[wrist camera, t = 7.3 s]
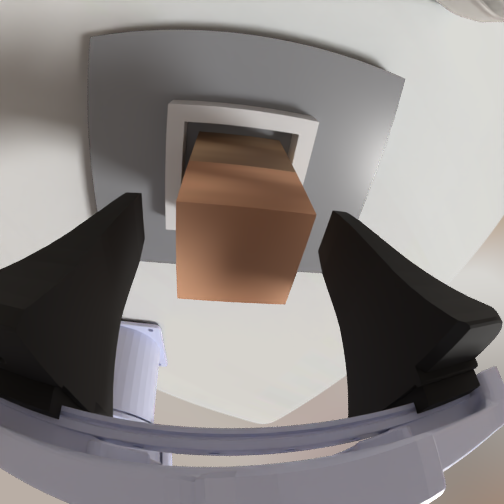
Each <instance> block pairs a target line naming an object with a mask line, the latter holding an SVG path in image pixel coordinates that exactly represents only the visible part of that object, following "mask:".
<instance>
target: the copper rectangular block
mask: <svg viewBox="0 0 504 504" xmlns="http://www.w3.org/2000/svg"><path fill="white" fill-rule="evenodd" d="M315 218H316V213H315V210H314V208H313V206H312V204H311V202H310V200H309V198H308V196H307V194H306V192H305V190H304V187H303V185H302V183H301V181H300V179H299V177H298V175H297V173H296V171H295V169H294V167H293V165H292V164H291V162H290V160H289V158H288V156H287V154H286V152H285V150H284V148H283V146H282V144H281V142H280V141H279V140H273V139H266V138H259V137H251V136H243V135H234V134H224V133H214V132H201V131H199V134H198V136H197V139H196V142H195V145H194V148H193V150H192V153H191V156H190V159H189V162H188V165H187V168H186V171H185V174H184V177H183V180H182V184H181V187H180V190H179V193H178V197H177V200H176V272H177V297H178V298H181V299H194V300H208V301H224V302H242V303H264V304H285V303H286V300H287V298H288V295H289V292H290V290H291V287H292V284H293V281H294V279H295V276H296V273H297V270H298V268H299V265H300V262H301V259H302V256H303V253H304V251H305V248H306V245H307V242H308V239H309V236H310V233H311V230H312V227H313V224H314V221H315Z"/></svg>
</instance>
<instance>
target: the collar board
mask: <svg viewBox="0 0 504 504" xmlns="http://www.w3.org/2000/svg"><path fill="white" fill-rule="evenodd" d="M404 82H405V79H404V78H402V77H400V76H398V75H395V74H393V73H391V72H388V71H386V70H383V69H381V68H378V67H375V66H373V65H370V64H367V63H365V62H362V61H359V60H356V59H353V58H350V57H347V56H344V55H341V54H337V53H334V52H331V51H327V50H323V49H320V48H316V47H312V46H308V45H304V44H299V43H295V42H290V41H285V40H280V39H275V38H269V37H263V36H256V35H249V34H241V33H232V32H221V31H207V30H148V31H134V32H123V33H114V34H107V35H100V36H94V37H90V49H89V64H88V129H89V145H90V157H91V168H92V177H93V185H94V192H95V199H96V206H97V212H98V211H100V210H101V209H103V208H104V207H105V206H107V205H108V204H109V203H111V202H112V201H114V200H115V199H116V198H118V197H119V196H121V195H123V194H124V193H126V192H130V193H142V207H143V221H144V233H145V240H144V245H143V250H142V254H141V258H140V261H146V262H158V263H171V264H176V200H177V197H178V193H179V190H180V187H181V184H182V180H183V177H184V174H185V171H186V168H187V165H188V162H189V159H190V156H191V153H192V150H193V148H194V145H195V142H196V139H197V136H198V134H199V131H201V132H214V133H224V134H234V135H243V136H251V137H259V138H266V139H273V140H279V141H280V142H281V144H282V146H283V148H284V150H285V152H286V154H287V156H288V158H289V160H290V162H291V164H292V165H293V167H294V169H295V171H296V173H297V175H298V177H299V179H300V181H301V183H302V185H303V187H304V190H305V192H306V194H307V196H308V198H309V200H310V202H311V204H312V206H313V208H314V210H315V213H316V218H315V221H314V224H313V227H312V230H311V233H310V236H309V239H308V242H307V245H306V248H305V251H304V253H303V256H302V259H301V262H300V265H299V268H298V270H297V272H310V273H322V270H321V265H320V260H319V254H318V250H319V247H320V244H321V241H322V239H323V236H324V233H325V230H326V228H327V225H328V222H329V219H330V216H331V214H332V211H333V210H335V211H342V212H347V213H349V214H350V215H352V216H354V217H355V218H356V219H358V218H359V216H360V213H361V211H362V208H363V206H364V203H365V201H366V198H367V196H368V193H369V190H370V188H371V185H372V182H373V180H374V177H375V174H376V171H377V169H378V166H379V163H380V160H381V157H382V154H383V151H384V148H385V145H386V142H387V139H388V136H389V133H390V130H391V127H392V124H393V120H394V117H395V114H396V111H397V107H398V104H399V100H400V97H401V93H402V89H403V86H404Z"/></svg>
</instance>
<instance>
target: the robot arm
mask: <svg viewBox="0 0 504 504" xmlns="http://www.w3.org/2000/svg"><path fill="white" fill-rule="evenodd" d="M144 240H145V233H144V221H143V207H142V193H130V192H126V193H124V194H123V195H121V196H119V197H118V198H116V199H115V200H114V201H112V202H111V203H109V204H108V205H107V206H105V207H104V208H103V209H101V210H100V211H98V212H97V213H96V214H94V215H93V216H92V217H90V218H89V219H87V220H86V221H85V222H83V223H82V224H80V225H79V226H77V227H76V228H75V229H73V230H72V231H70V232H69V233H67V234H66V235H64V236H63V237H61V238H59V239H58V240H56V241H54V242H53V243H51V244H50V245H48V246H46V247H44V248H42V249H41V250H39V251H37V252H35V253H33V254H31V255H29V256H28V257H26V258H24V259H22V260H20V261H18V262H16V263H14V264H12V265H9V266H7V267H5V268H3V269H0V468H2V469H3V470H4V471H6V472H8V473H9V474H11V475H13V476H14V477H16V478H18V479H20V480H21V481H23V482H25V483H27V484H29V485H31V486H32V487H34V488H36V489H39V490H40V491H43V492H44V493H47V494H49V495H51V496H53V497H55V498H58V499H60V500H62V501H64V502H67V503H69V504H428V503H430V502H431V501H433V500H435V499H436V498H438V497H439V496H440V495H442V493H443V492H444V490H445V489H446V483H445V478H444V473H443V472H444V471H445V470H447V469H448V468H450V467H451V466H452V465H454V464H455V463H457V462H458V461H460V460H461V459H462V458H464V457H465V456H466V455H468V454H469V453H470V452H471V451H473V450H474V449H475V448H476V447H478V446H479V445H480V444H481V443H483V442H484V441H485V440H486V439H487V438H489V437H490V436H491V435H492V434H493V433H494V432H496V431H497V430H498V429H499V428H500V427H502V426H503V425H504V383H503V381H502V378H501V376H500V374H499V371H498V369H497V367H496V366H493V367H491V368H489V369H486V370H484V371H482V372H480V373H479V374H477V375H476V374H475V371H474V369H475V368H476V367H477V366H478V364H477V361H476V359H475V358H476V357H477V356H478V355H479V354H480V353H481V352H482V351H483V350H484V349H485V348H486V347H487V346H488V345H489V344H490V343H491V342H492V341H493V340H494V339H495V337H496V336H497V335H498V333H499V332H500V330H501V328H502V320H501V318H500V317H499V315H498V313H497V312H496V311H495V310H494V308H492V307H490V306H488V305H486V304H484V303H482V302H479V301H477V300H475V299H472V298H470V297H468V296H466V295H464V294H462V293H460V292H458V291H456V290H455V289H453V288H451V287H449V286H447V285H446V284H444V283H442V282H441V281H439V280H438V279H436V278H434V277H433V276H431V275H430V274H428V273H426V272H425V271H424V270H422V269H421V268H419V267H418V266H416V265H415V264H413V263H412V262H411V261H409V260H408V259H407V258H405V257H404V256H403V255H401V254H400V253H399V252H398V251H396V250H395V249H394V248H392V247H391V246H390V245H389V244H388V243H386V242H385V241H384V240H383V239H381V238H380V237H379V236H378V235H377V234H375V233H374V232H373V231H372V230H370V229H369V228H368V227H367V226H365V225H364V224H363V223H362V222H360V221H359V220H358V219H356V218H355V217H354V216H352V215H350V214H349V213H347V212H342V211H335V210H333V211H332V214H331V216H330V219H329V222H328V225H327V228H326V230H325V233H324V236H323V239H322V241H321V244H320V247H319V250H318V254H319V260H320V265H321V270H322V274H323V277H324V280H325V283H326V286H327V289H328V292H329V295H330V298H331V301H332V304H333V307H334V310H335V313H336V316H337V319H338V323H339V326H340V331H341V337H342V342H343V348H344V355H345V362H346V371H347V383H348V418H345V419H339V420H334V421H326V422H319V423H312V424H303V425H293V426H281V427H266V428H198V427H181V426H170V425H160V424H154V410H155V398H156V388H157V378H158V369H159V366H167V358H166V353H165V347H164V342H163V336H162V330H161V327H160V326H159V325H155V324H145V323H136V322H128V321H121V318H122V314H123V310H124V307H125V304H126V300H127V297H128V294H129V291H130V288H131V285H132V282H133V279H134V277H135V274H136V271H137V268H138V265H139V262H140V258H141V254H142V250H143V245H144ZM370 437H371V438H370ZM367 438H369V439H367ZM362 439H366V440H363V441H360V442H358V443H357V444H356V445H355V446H353V447H351V448H349V449H347V450H345V451H342V452H340V453H337V454H334V455H332V456H326V457H320V458H314V459H308V460H301V461H293V462H284V463H276V464H265V465H251V466H233V467H184V466H172V453H176V454H190V455H191V454H192V455H213V456H214V455H215V456H239V455H263V454H275V453H287V452H295V451H304V450H310V449H317V448H323V447H329V446H334V445H339V444H345V443H349V442H354V441H358V440H362Z"/></svg>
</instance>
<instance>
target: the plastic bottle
mask: <svg viewBox="0 0 504 504" xmlns="http://www.w3.org/2000/svg"><path fill="white" fill-rule="evenodd" d="M436 1H437V2H438V3H440V4H441V5H442V6H443V7H445V8H446V9H447V10H449V11H450V12H452V13H454V14H456V15H458V16H460V17H464V18H467V19H471V20H474V21H478V22H482V23H483V22H504V0H436Z"/></svg>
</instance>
